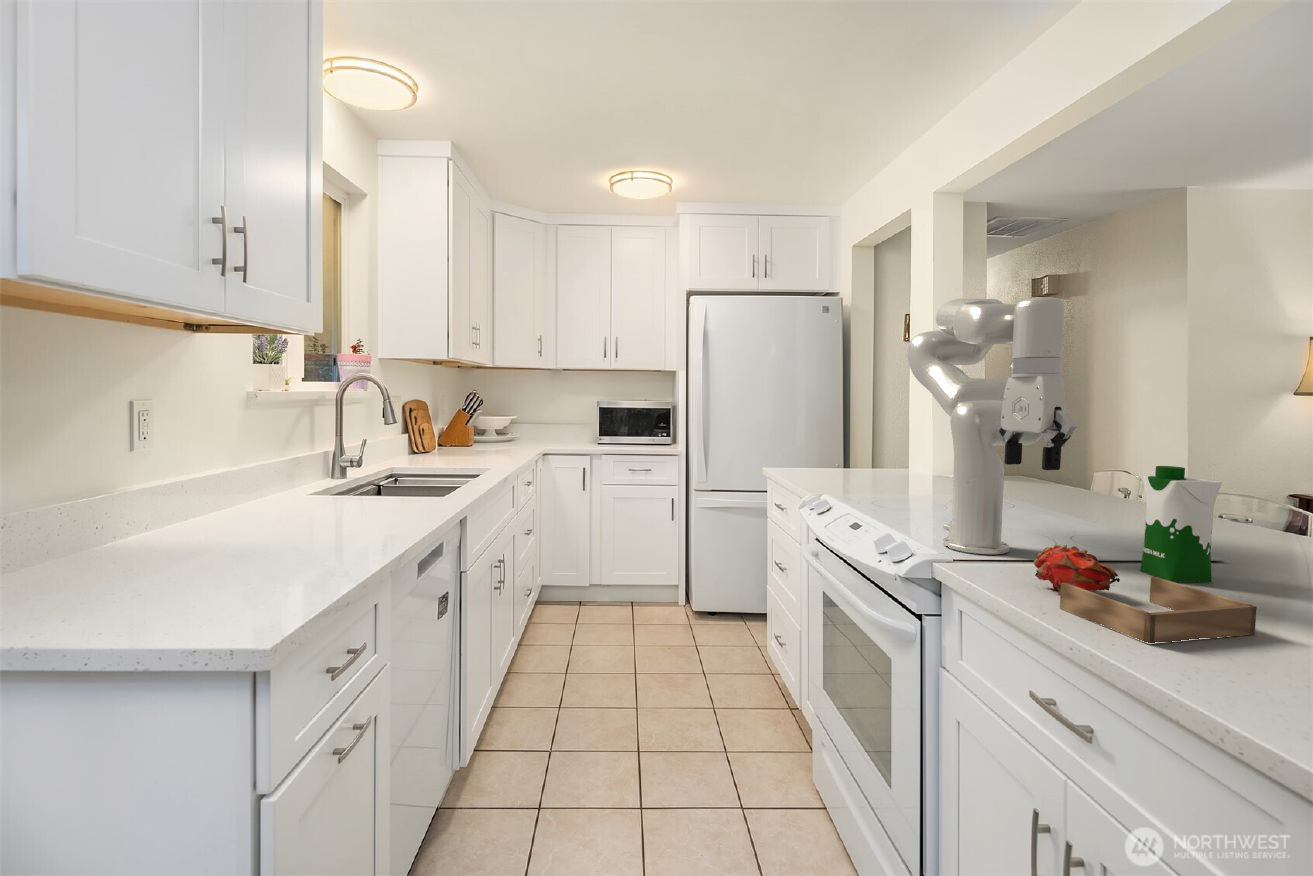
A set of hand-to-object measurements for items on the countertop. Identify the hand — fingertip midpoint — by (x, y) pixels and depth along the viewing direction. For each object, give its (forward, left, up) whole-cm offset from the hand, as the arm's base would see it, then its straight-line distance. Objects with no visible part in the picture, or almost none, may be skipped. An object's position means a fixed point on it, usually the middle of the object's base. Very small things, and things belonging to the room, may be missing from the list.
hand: (1031, 466), depth 109 cm
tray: (+23, 0, -20) cm, 30 cm away
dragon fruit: (+10, 0, -20) cm, 22 cm away
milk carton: (+6, +26, -20) cm, 33 cm away
